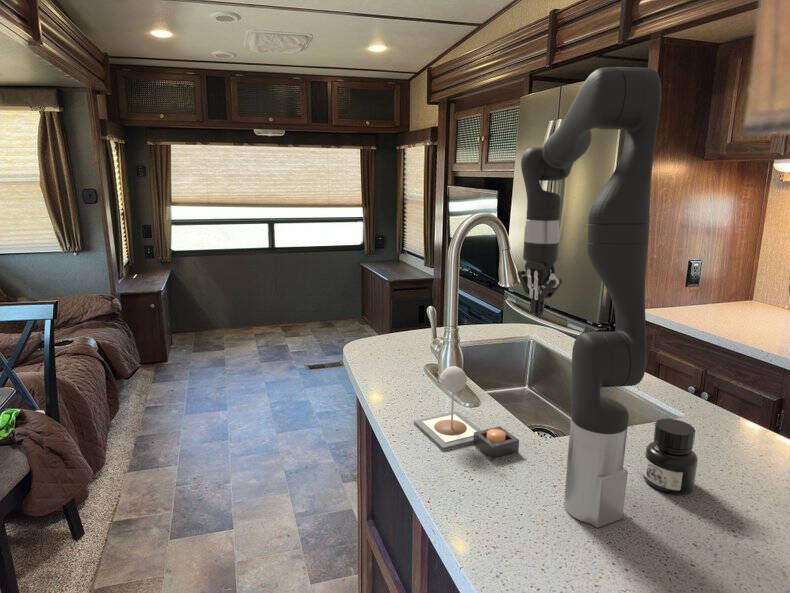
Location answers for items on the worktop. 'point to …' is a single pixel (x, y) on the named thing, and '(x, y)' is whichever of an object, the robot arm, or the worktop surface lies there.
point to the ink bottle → (671, 457)
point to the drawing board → (448, 430)
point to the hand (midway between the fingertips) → (536, 314)
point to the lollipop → (453, 382)
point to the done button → (496, 435)
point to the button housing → (496, 444)
